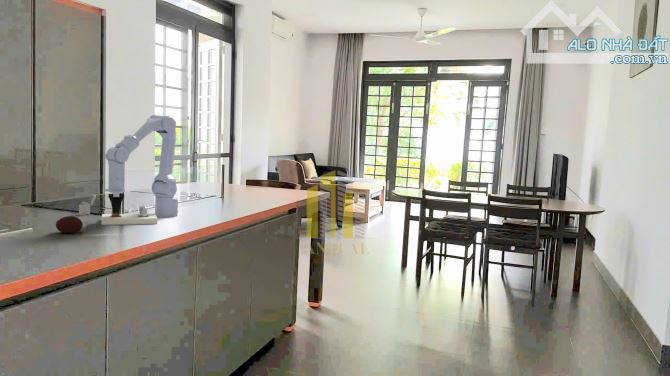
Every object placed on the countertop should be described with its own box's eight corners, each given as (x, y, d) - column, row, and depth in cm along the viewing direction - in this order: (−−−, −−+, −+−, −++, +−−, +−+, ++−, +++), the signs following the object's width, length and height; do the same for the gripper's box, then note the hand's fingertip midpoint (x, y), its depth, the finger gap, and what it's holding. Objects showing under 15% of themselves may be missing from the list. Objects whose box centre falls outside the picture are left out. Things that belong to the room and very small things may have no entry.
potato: (57, 230, 170) (57, 214, 169) (83, 230, 173) (83, 214, 172) (54, 235, 163) (54, 218, 162) (81, 234, 166) (81, 218, 165)
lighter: (81, 215, 198) (81, 196, 197) (78, 214, 199) (78, 196, 198) (96, 213, 205) (96, 195, 204) (93, 212, 206) (93, 194, 205)
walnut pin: (119, 218, 188) (119, 198, 187) (119, 220, 186) (120, 200, 185) (111, 218, 187) (112, 198, 186) (111, 220, 185) (112, 200, 184)
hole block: (155, 220, 198) (155, 213, 197) (157, 225, 189) (157, 218, 188) (102, 221, 189) (102, 214, 189) (101, 226, 180) (101, 219, 180)
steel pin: (146, 220, 193) (146, 206, 192) (147, 222, 190) (147, 207, 190) (139, 220, 192) (139, 206, 191) (139, 222, 189) (139, 207, 188)
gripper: (105, 175, 190) (105, 209, 191) (104, 180, 176) (104, 215, 178) (124, 176, 192) (124, 209, 194) (125, 180, 179) (124, 215, 181)
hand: (116, 212), depth 186 cm, fingers closed on walnut pin, 3 cm apart
